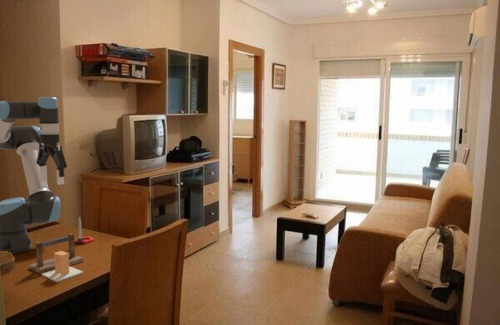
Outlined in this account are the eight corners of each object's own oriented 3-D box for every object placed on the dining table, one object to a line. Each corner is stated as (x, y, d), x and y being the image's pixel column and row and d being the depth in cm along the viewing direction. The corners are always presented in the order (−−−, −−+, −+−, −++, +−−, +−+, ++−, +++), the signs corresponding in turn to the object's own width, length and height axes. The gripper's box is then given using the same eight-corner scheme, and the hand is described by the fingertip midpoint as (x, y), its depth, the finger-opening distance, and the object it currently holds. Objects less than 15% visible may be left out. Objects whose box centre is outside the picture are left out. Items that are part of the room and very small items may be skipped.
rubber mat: (41, 275, 169) (41, 273, 169) (67, 266, 178) (67, 265, 178) (56, 282, 163) (56, 280, 163) (83, 273, 172) (83, 271, 171)
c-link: (55, 272, 170) (54, 252, 169) (62, 270, 173) (61, 250, 172) (62, 275, 168) (61, 255, 166) (69, 273, 170) (68, 253, 169)
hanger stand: (29, 268, 176) (27, 241, 174) (70, 256, 190) (68, 230, 188) (42, 274, 170) (40, 246, 168) (83, 261, 184) (82, 235, 183)
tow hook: (81, 238, 216) (70, 243, 207) (80, 213, 215) (70, 217, 206) (96, 239, 215) (87, 244, 206) (96, 214, 214) (86, 218, 205)
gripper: (26, 132, 188) (28, 180, 191) (57, 135, 173) (59, 187, 176) (42, 131, 194) (45, 178, 197) (74, 134, 179) (76, 184, 182)
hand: (52, 182), depth 187 cm, fingers open, 13 cm apart
